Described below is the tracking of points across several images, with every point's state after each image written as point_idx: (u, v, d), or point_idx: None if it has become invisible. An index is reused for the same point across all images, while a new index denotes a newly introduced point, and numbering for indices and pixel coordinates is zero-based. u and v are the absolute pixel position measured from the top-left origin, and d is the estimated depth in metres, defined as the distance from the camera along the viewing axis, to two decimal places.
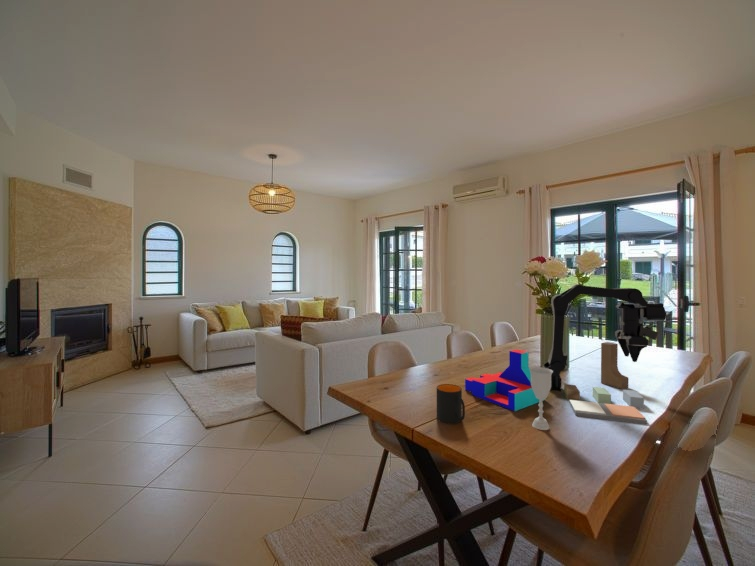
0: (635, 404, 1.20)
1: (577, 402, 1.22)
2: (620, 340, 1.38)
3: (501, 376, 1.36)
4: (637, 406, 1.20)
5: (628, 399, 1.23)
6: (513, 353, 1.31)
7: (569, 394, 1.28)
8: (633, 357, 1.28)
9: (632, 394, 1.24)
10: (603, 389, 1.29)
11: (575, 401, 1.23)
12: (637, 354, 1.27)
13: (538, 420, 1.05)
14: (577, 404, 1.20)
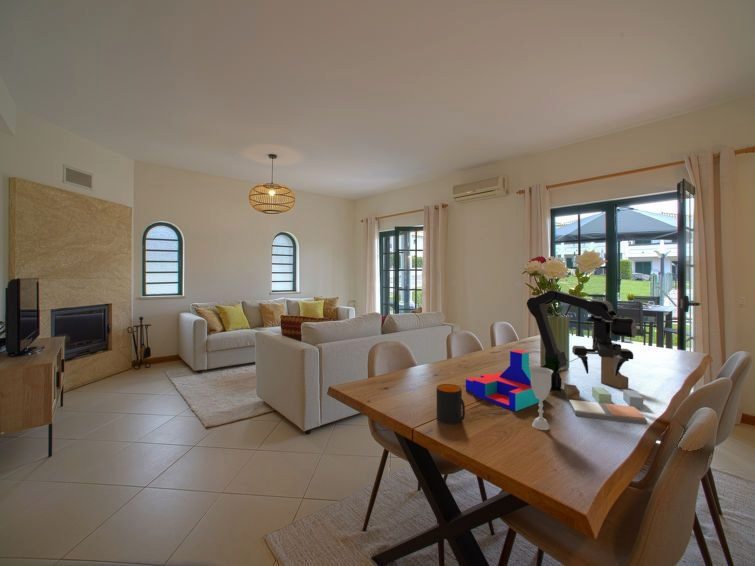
0: (635, 404, 1.21)
1: (577, 402, 1.22)
2: (615, 358, 1.28)
3: (502, 376, 1.36)
4: (637, 406, 1.20)
5: (627, 399, 1.23)
6: (514, 353, 1.31)
7: (569, 394, 1.28)
8: None
9: (632, 394, 1.24)
10: (603, 389, 1.29)
11: (575, 401, 1.23)
12: (585, 365, 1.29)
13: (538, 420, 1.05)
14: (577, 404, 1.20)
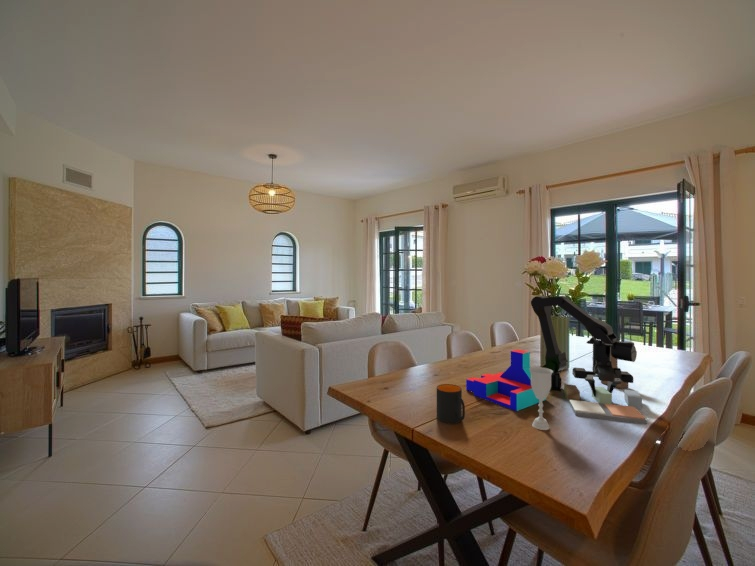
0: (633, 403, 1.21)
1: (577, 402, 1.22)
2: None
3: (502, 376, 1.36)
4: (635, 406, 1.21)
5: (627, 399, 1.23)
6: (514, 353, 1.32)
7: (569, 394, 1.28)
8: (592, 391, 1.29)
9: (632, 394, 1.24)
10: (603, 388, 1.29)
11: (575, 401, 1.23)
12: (592, 389, 1.28)
13: (538, 420, 1.05)
14: (577, 404, 1.20)
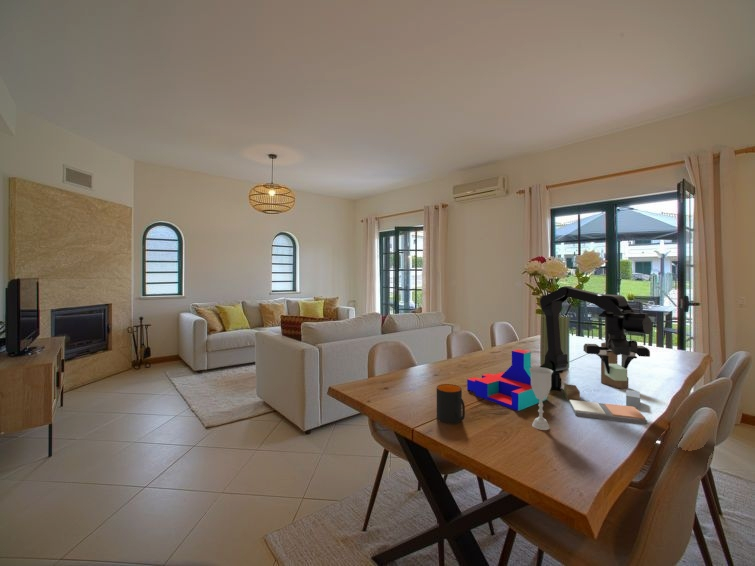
0: (631, 403, 1.21)
1: (577, 402, 1.22)
2: (622, 355, 1.20)
3: (503, 376, 1.36)
4: (633, 405, 1.21)
5: None
6: (515, 353, 1.32)
7: (569, 394, 1.28)
8: (605, 368, 1.21)
9: (632, 393, 1.24)
10: (616, 365, 1.21)
11: (575, 401, 1.23)
12: None
13: (538, 420, 1.05)
14: (577, 404, 1.20)
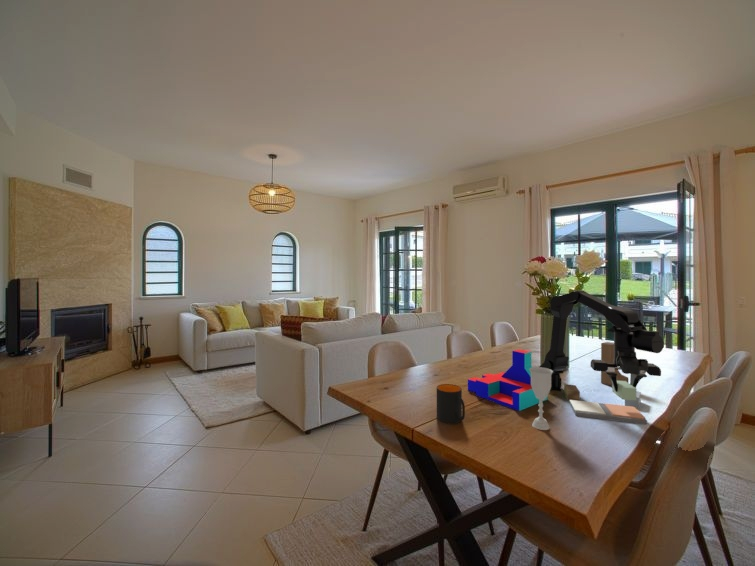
0: (630, 403, 1.21)
1: (577, 402, 1.22)
2: None
3: (504, 376, 1.37)
4: (632, 405, 1.21)
5: None
6: (516, 353, 1.32)
7: (569, 394, 1.28)
8: (613, 385, 1.16)
9: None
10: (625, 382, 1.15)
11: (575, 401, 1.23)
12: (613, 383, 1.15)
13: (538, 420, 1.05)
14: (577, 404, 1.20)
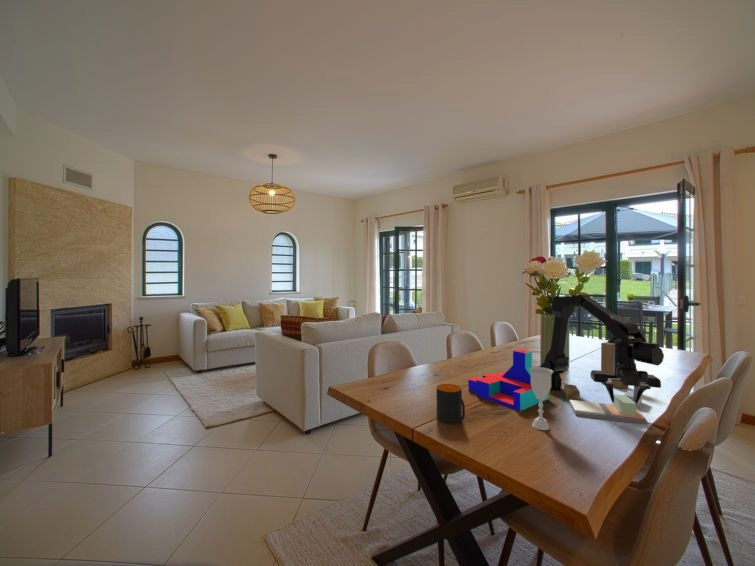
0: None
1: (577, 402, 1.22)
2: None
3: (504, 376, 1.37)
4: None
5: None
6: (517, 353, 1.32)
7: (569, 394, 1.28)
8: None
9: (632, 393, 1.24)
10: (625, 397, 1.15)
11: (575, 401, 1.23)
12: (610, 393, 1.15)
13: (538, 420, 1.05)
14: (577, 404, 1.20)
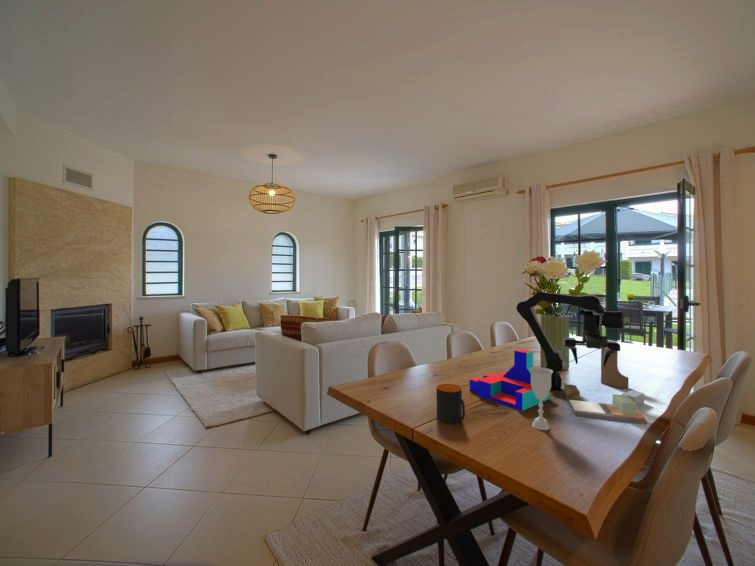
0: None
1: (577, 402, 1.22)
2: (604, 349, 1.34)
3: (505, 376, 1.37)
4: None
5: None
6: (518, 353, 1.32)
7: (569, 394, 1.28)
8: None
9: (631, 393, 1.24)
10: (625, 397, 1.15)
11: (575, 401, 1.23)
12: (574, 356, 1.36)
13: (538, 420, 1.05)
14: (577, 404, 1.20)
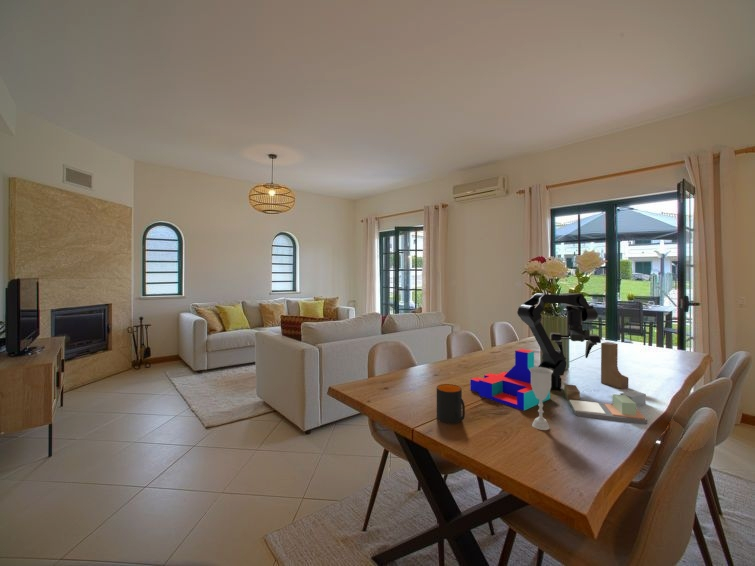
0: None
1: (577, 402, 1.22)
2: (586, 342, 1.46)
3: (506, 376, 1.37)
4: None
5: None
6: (519, 353, 1.32)
7: (569, 394, 1.28)
8: None
9: (631, 393, 1.24)
10: (625, 397, 1.15)
11: (575, 401, 1.23)
12: (560, 349, 1.48)
13: (538, 420, 1.05)
14: (577, 404, 1.20)
